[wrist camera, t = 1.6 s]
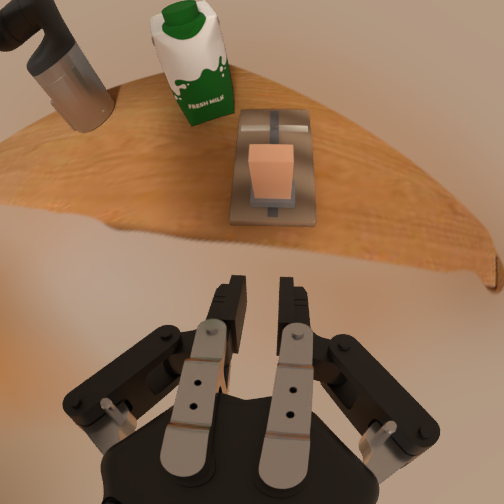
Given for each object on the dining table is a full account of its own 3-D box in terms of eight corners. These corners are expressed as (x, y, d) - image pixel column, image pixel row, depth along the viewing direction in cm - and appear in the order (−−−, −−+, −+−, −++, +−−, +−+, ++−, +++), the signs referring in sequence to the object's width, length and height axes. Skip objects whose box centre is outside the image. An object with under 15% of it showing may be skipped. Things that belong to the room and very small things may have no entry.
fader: (294, 207, 31) (299, 167, 23) (251, 206, 31) (242, 166, 23) (294, 185, 32) (298, 140, 24) (252, 184, 32) (244, 140, 24)
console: (314, 226, 32) (316, 221, 31) (231, 225, 33) (229, 219, 32) (308, 116, 37) (308, 109, 35) (241, 116, 38) (240, 108, 36)
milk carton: (187, 132, 38) (140, 25, 19) (179, 99, 41) (141, 6, 22) (242, 114, 38) (220, 0, 19) (227, 83, 41) (206, -15, 22)
